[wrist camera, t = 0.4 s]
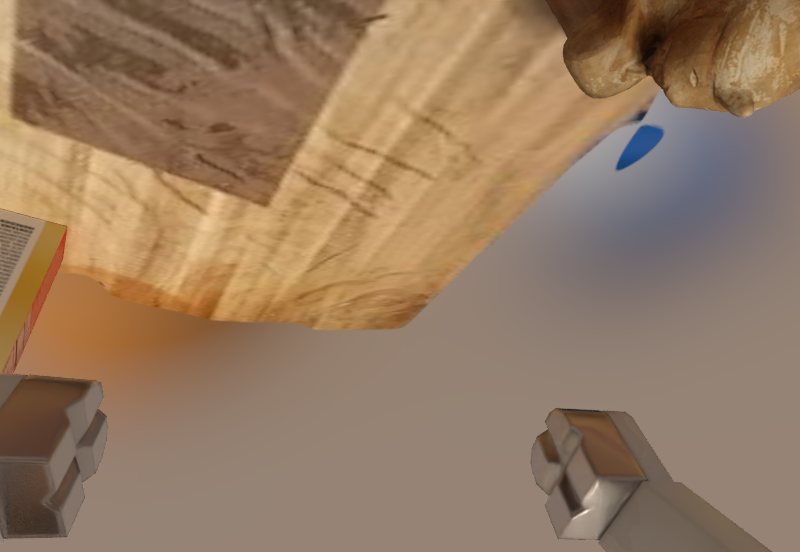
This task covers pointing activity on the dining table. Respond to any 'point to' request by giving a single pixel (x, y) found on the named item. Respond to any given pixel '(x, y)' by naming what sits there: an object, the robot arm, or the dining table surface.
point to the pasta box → (25, 278)
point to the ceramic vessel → (685, 49)
